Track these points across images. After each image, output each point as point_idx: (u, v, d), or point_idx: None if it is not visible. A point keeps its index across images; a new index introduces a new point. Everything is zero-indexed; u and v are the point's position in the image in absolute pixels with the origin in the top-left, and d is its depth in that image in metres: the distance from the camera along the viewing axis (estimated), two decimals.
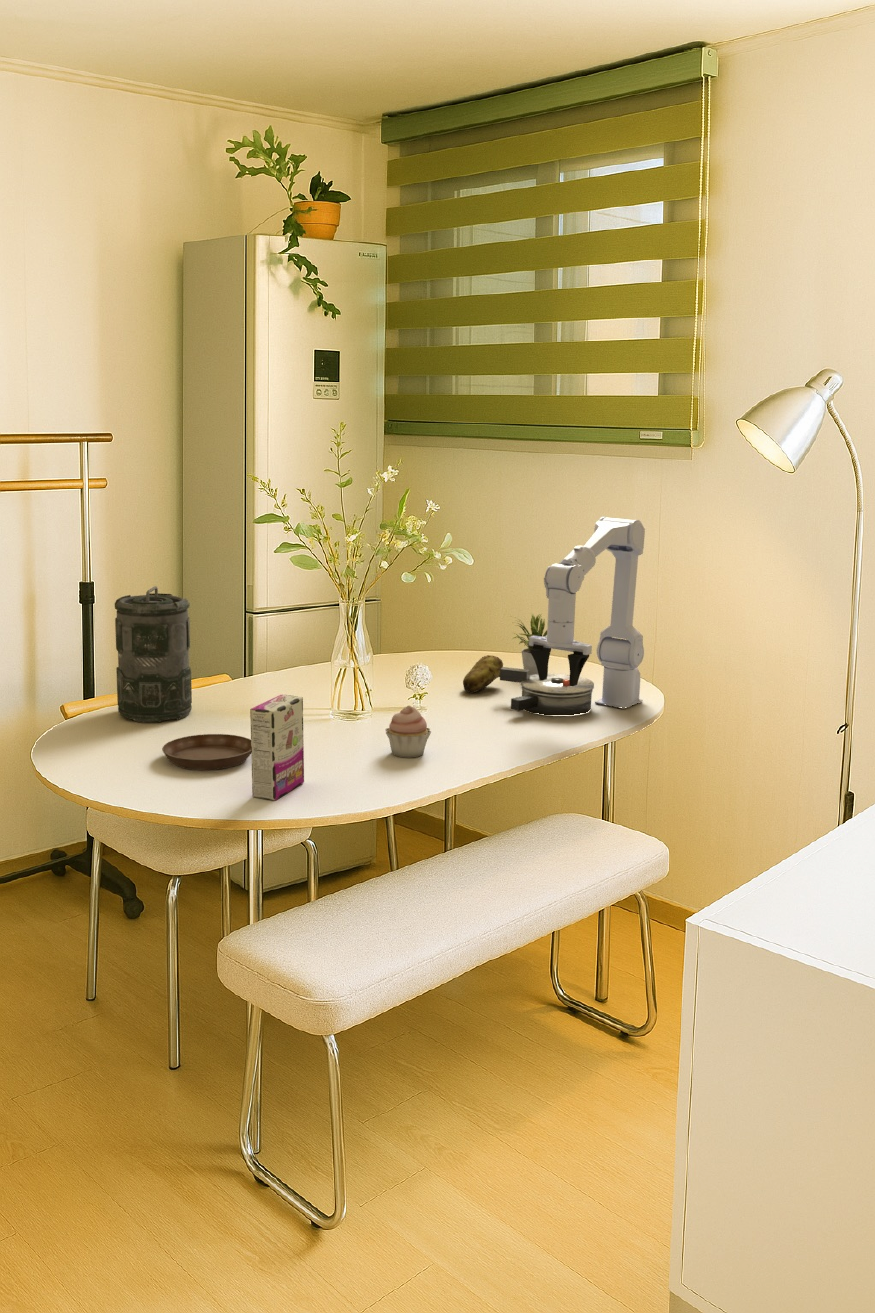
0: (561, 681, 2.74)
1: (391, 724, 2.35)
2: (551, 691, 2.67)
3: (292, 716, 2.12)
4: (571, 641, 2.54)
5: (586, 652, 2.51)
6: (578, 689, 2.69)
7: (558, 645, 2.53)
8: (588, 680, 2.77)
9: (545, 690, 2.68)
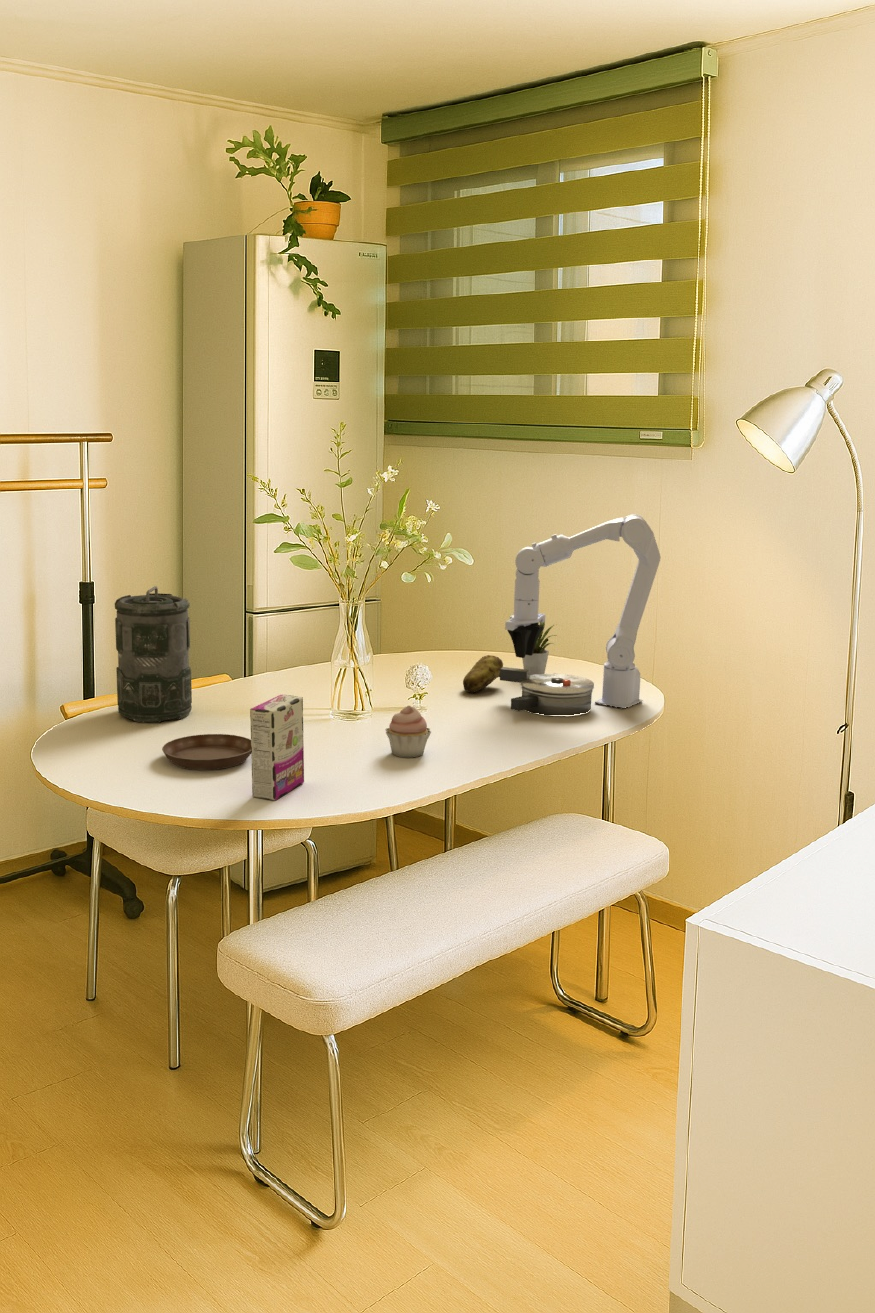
0: (561, 681, 2.74)
1: (391, 724, 2.35)
2: (551, 691, 2.67)
3: (291, 716, 2.12)
4: (519, 618, 2.77)
5: (505, 627, 2.75)
6: (578, 689, 2.69)
7: None
8: (588, 680, 2.77)
9: (545, 690, 2.68)
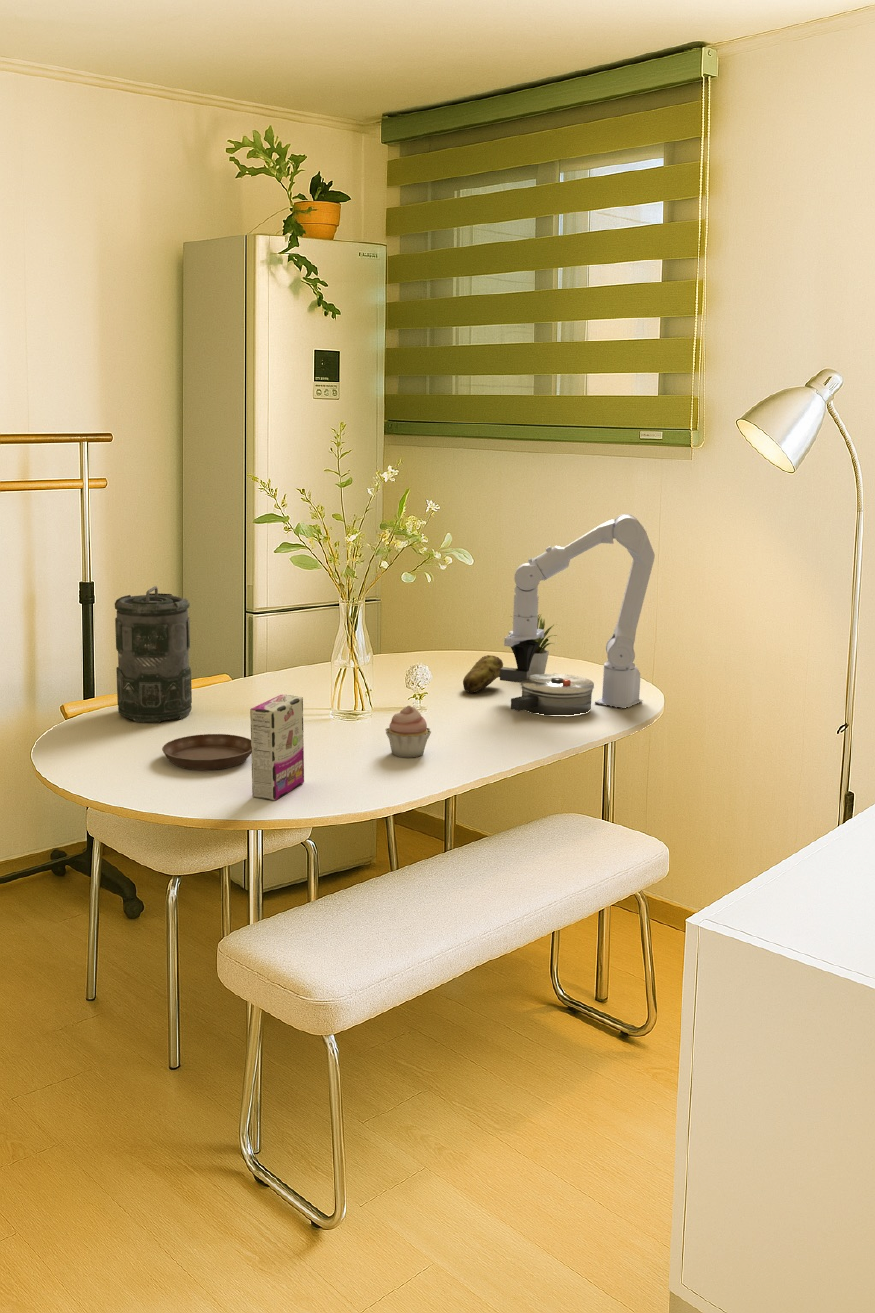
0: (561, 681, 2.74)
1: (391, 724, 2.35)
2: (551, 691, 2.67)
3: (292, 716, 2.12)
4: (518, 634, 2.78)
5: (504, 643, 2.75)
6: (578, 689, 2.69)
7: None
8: (588, 680, 2.77)
9: (545, 690, 2.68)
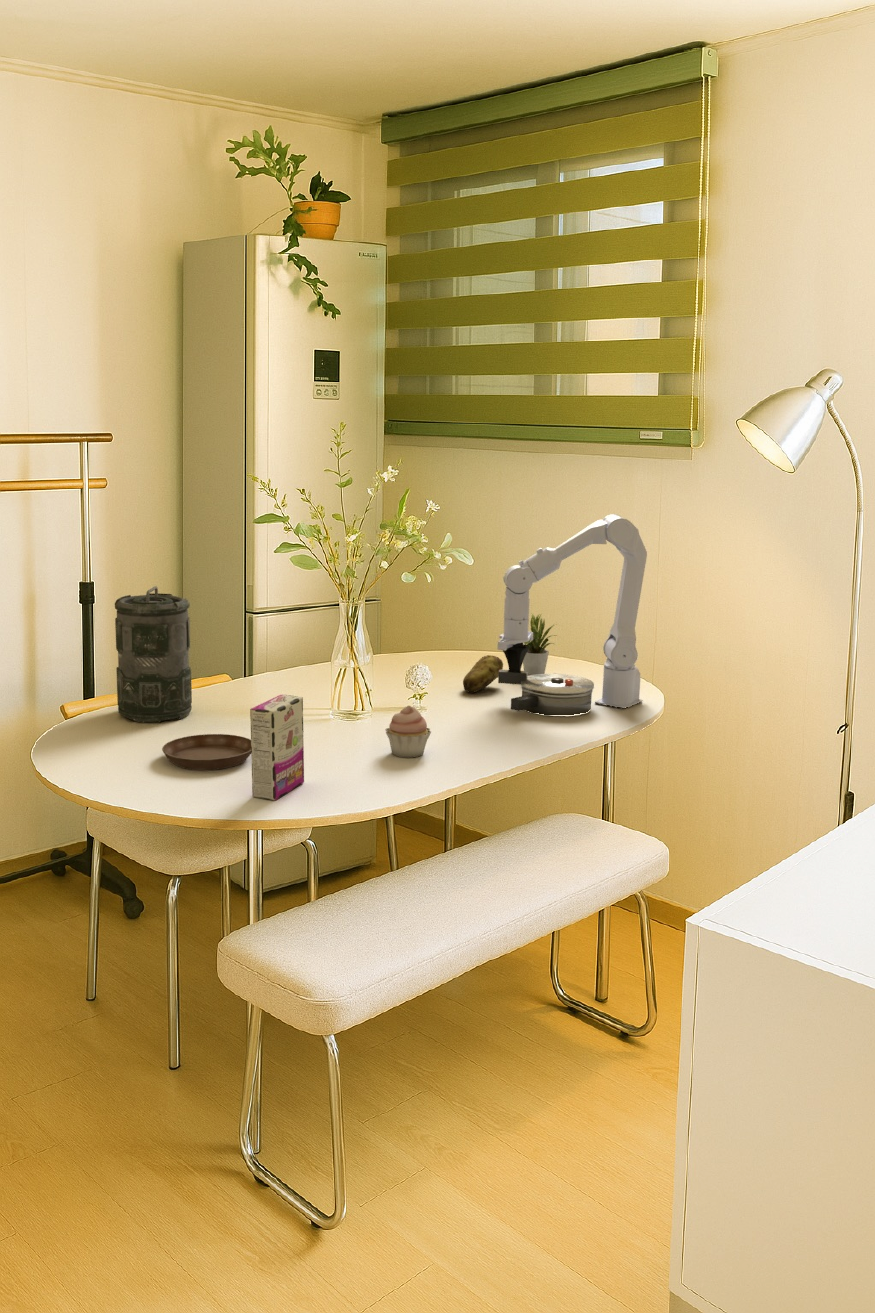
0: (562, 681, 2.74)
1: (391, 724, 2.35)
2: (559, 691, 2.67)
3: (291, 716, 2.12)
4: (510, 637, 2.74)
5: (497, 647, 2.71)
6: (583, 688, 2.70)
7: (502, 637, 2.77)
8: (584, 678, 2.79)
9: (553, 691, 2.67)
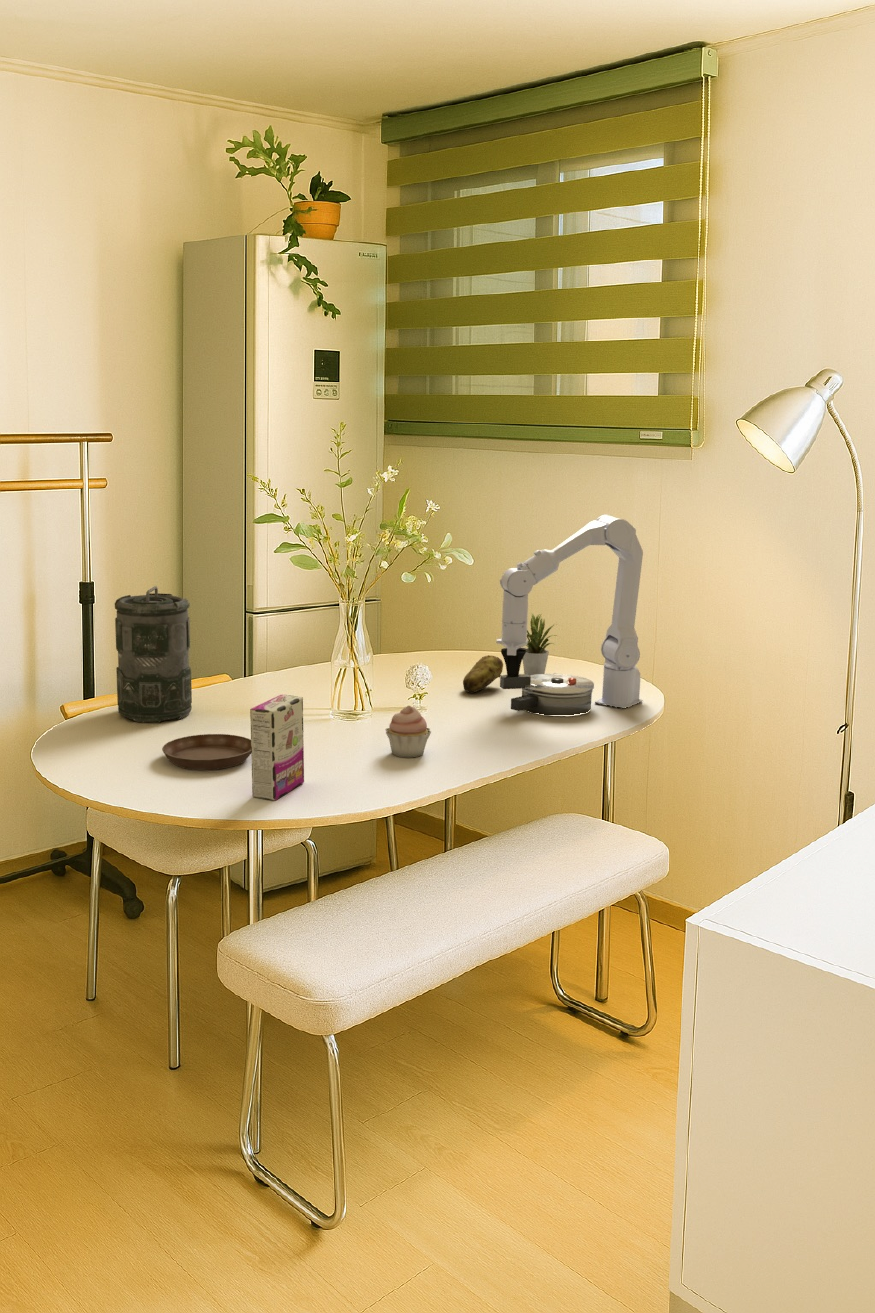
0: (563, 680, 2.75)
1: (391, 724, 2.35)
2: (575, 691, 2.68)
3: (291, 716, 2.12)
4: (513, 641, 2.69)
5: (507, 652, 2.66)
6: (590, 685, 2.72)
7: (501, 642, 2.71)
8: (573, 676, 2.81)
9: (569, 691, 2.67)
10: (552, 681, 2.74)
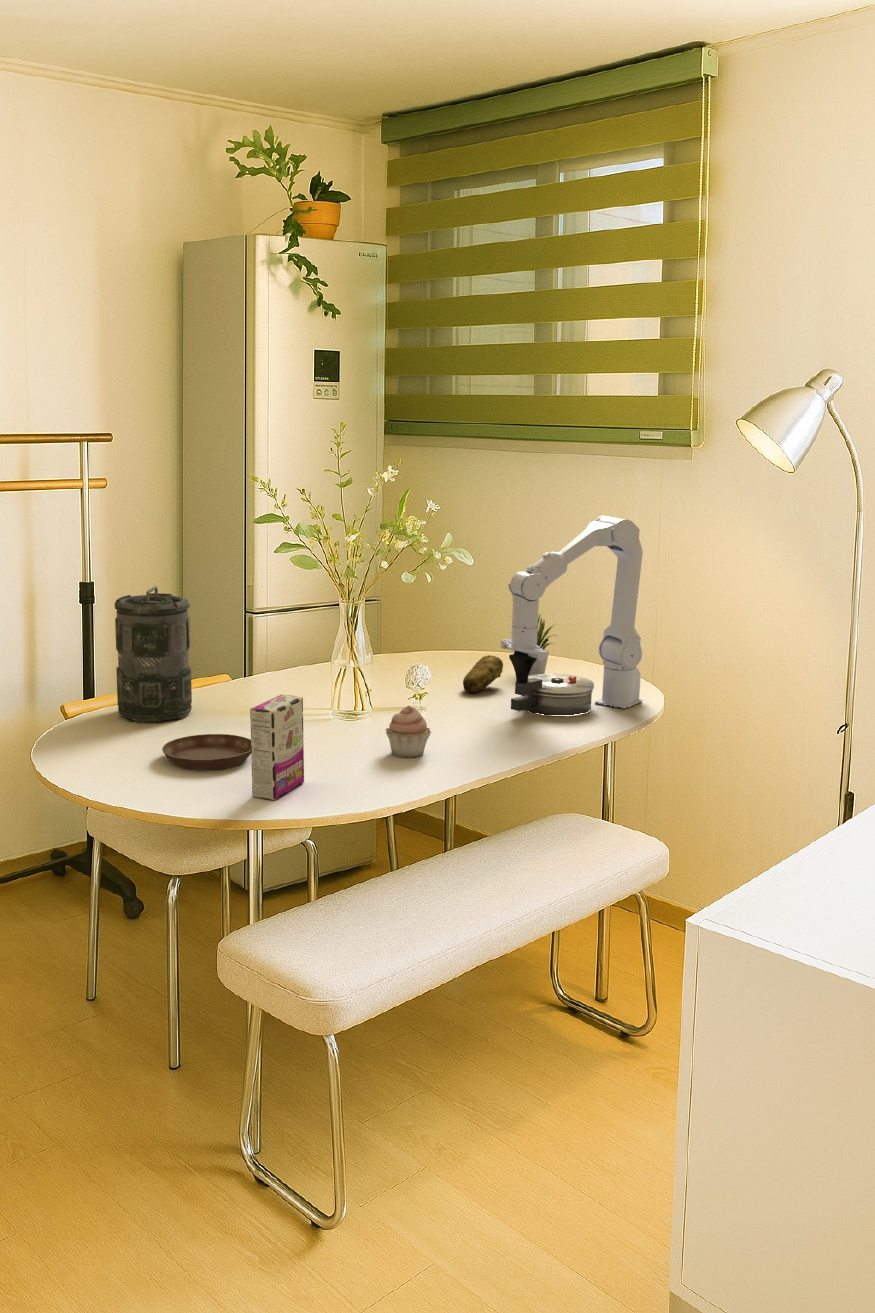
0: None
1: (391, 724, 2.35)
2: (588, 689, 2.70)
3: (291, 716, 2.12)
4: (531, 646, 2.65)
5: (539, 658, 2.61)
6: (589, 681, 2.76)
7: (517, 649, 2.64)
8: (557, 674, 2.83)
9: (584, 689, 2.69)
10: (554, 682, 2.74)
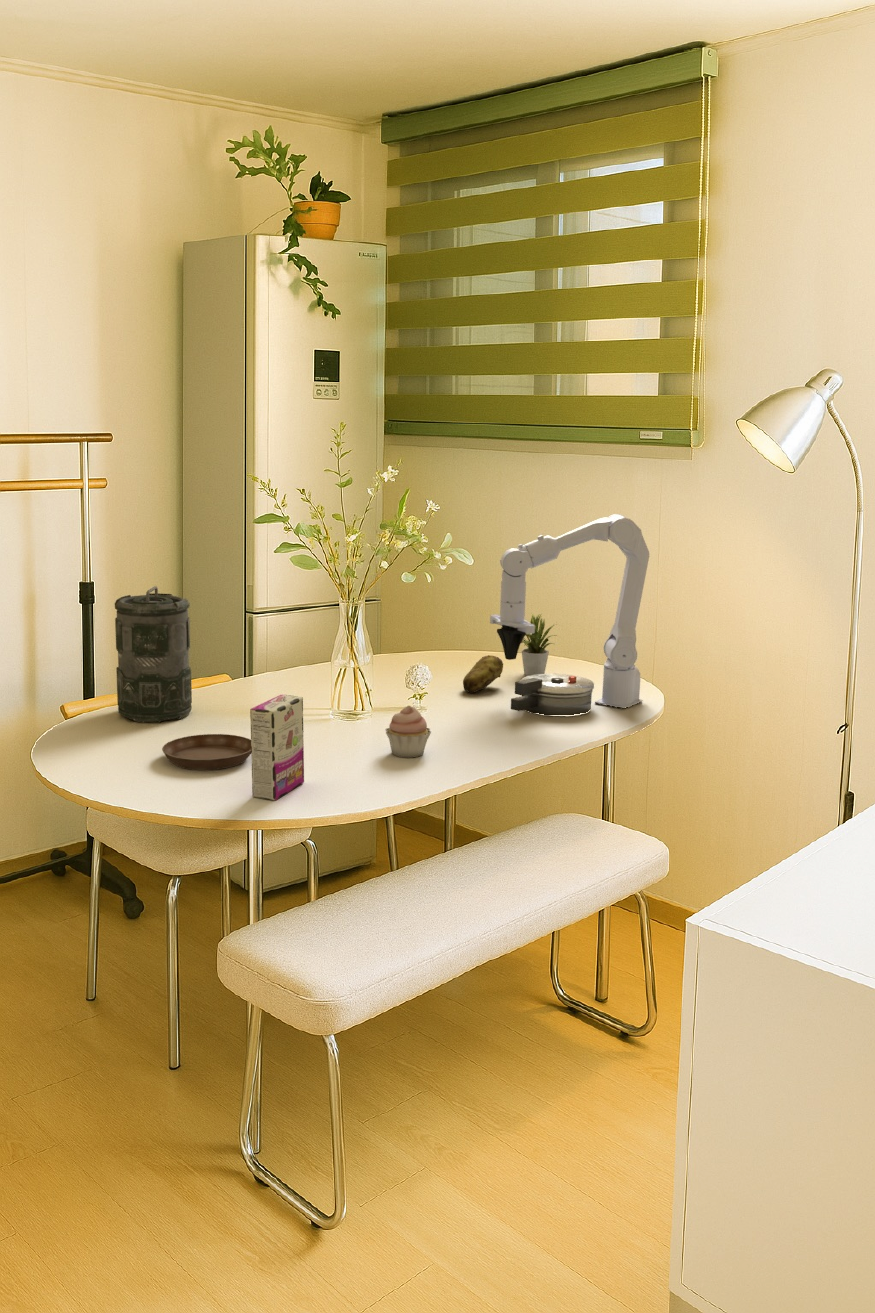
0: None
1: (391, 724, 2.35)
2: (588, 689, 2.70)
3: (292, 716, 2.12)
4: (519, 621, 2.74)
5: (527, 631, 2.70)
6: (589, 681, 2.76)
7: (505, 623, 2.74)
8: (557, 674, 2.83)
9: (584, 689, 2.69)
10: (554, 682, 2.74)
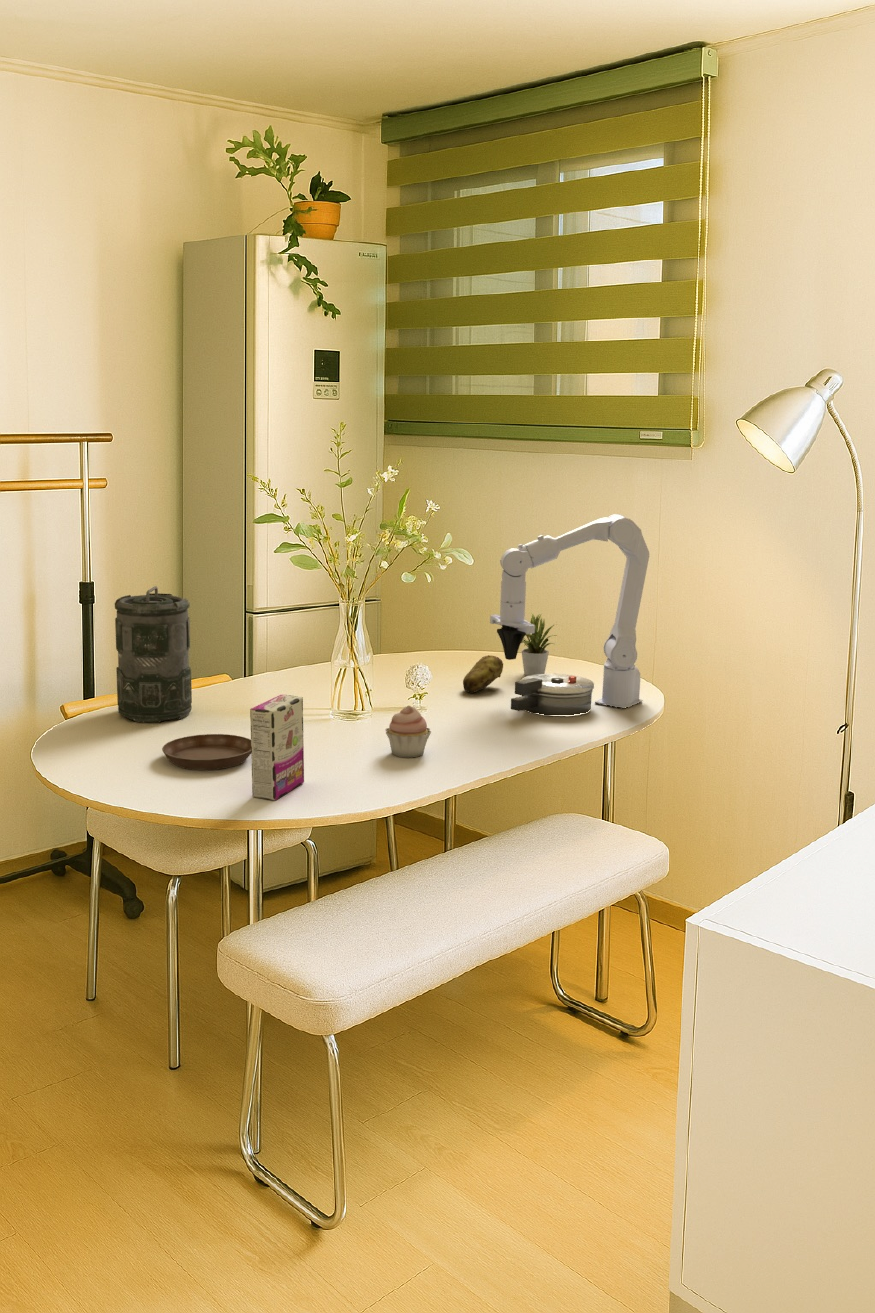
0: None
1: (391, 724, 2.35)
2: (588, 689, 2.70)
3: (291, 716, 2.12)
4: (519, 621, 2.74)
5: (527, 631, 2.70)
6: (589, 681, 2.76)
7: (505, 623, 2.74)
8: (557, 674, 2.83)
9: (584, 689, 2.69)
10: (554, 682, 2.74)
